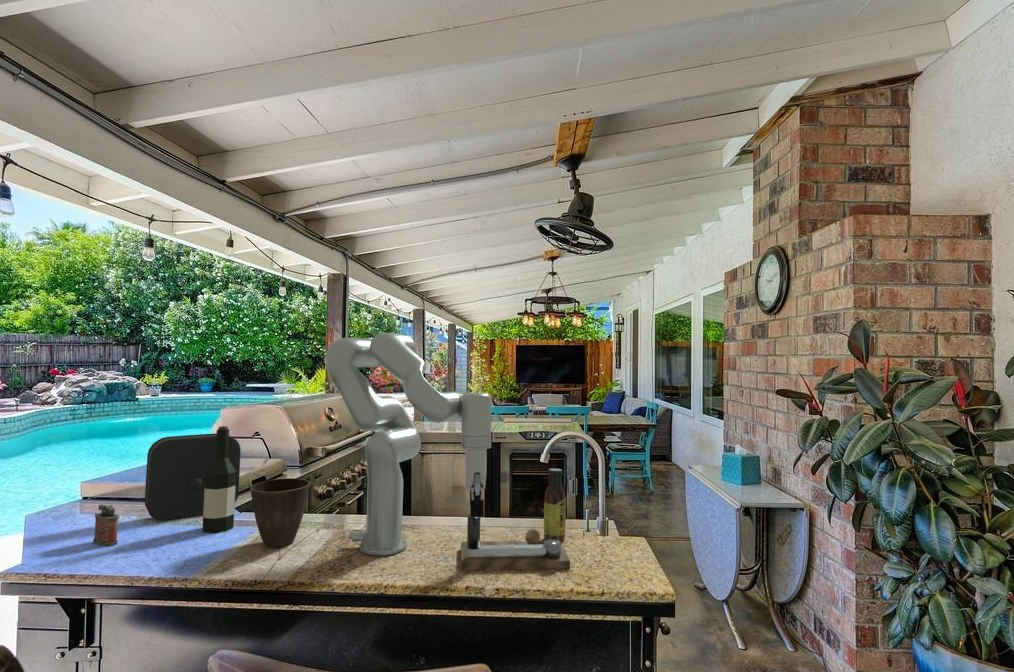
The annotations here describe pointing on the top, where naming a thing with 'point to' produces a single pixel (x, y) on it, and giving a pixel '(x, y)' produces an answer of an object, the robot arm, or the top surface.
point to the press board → (513, 557)
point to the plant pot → (279, 509)
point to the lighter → (106, 526)
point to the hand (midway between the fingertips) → (476, 510)
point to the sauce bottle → (554, 507)
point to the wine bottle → (219, 488)
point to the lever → (473, 544)
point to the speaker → (182, 474)
